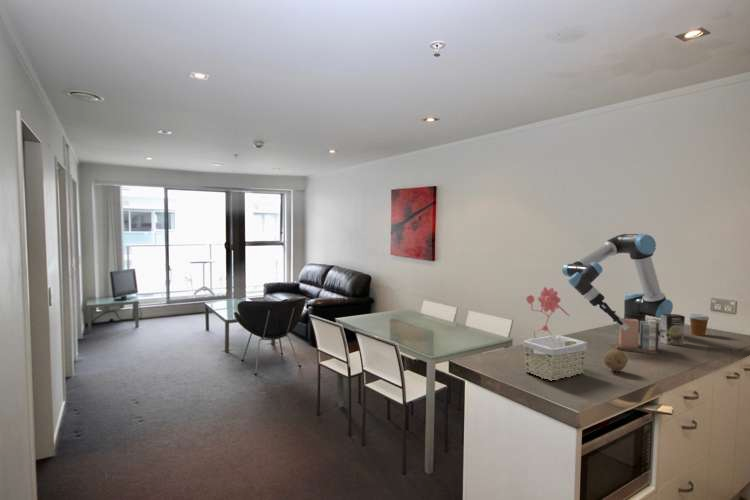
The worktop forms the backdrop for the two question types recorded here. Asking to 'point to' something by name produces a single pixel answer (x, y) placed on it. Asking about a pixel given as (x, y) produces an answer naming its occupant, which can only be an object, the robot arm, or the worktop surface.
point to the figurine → (546, 303)
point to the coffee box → (672, 329)
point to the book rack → (645, 338)
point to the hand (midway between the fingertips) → (624, 326)
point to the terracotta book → (629, 333)
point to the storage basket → (555, 356)
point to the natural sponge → (615, 360)
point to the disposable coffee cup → (698, 324)
